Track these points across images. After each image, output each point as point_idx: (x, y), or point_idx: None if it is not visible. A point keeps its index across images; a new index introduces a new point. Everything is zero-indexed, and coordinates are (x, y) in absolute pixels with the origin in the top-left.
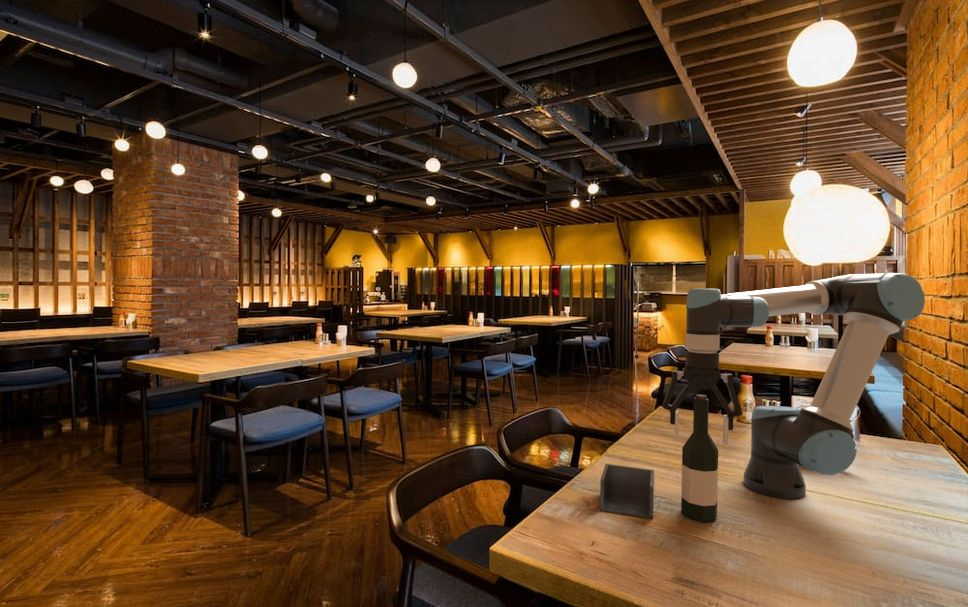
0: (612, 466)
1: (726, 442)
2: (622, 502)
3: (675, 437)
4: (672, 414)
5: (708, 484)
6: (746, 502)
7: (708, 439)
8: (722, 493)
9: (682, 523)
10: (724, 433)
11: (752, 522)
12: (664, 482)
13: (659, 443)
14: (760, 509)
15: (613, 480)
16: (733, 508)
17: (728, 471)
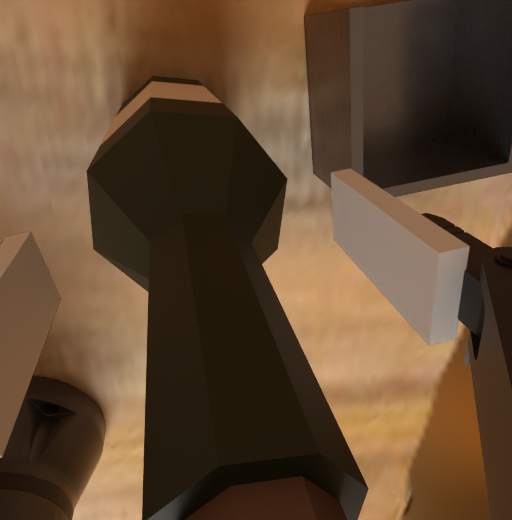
0: (492, 164)
1: (13, 241)
2: (402, 81)
3: (350, 172)
4: (473, 254)
5: (133, 107)
6: (67, 303)
7: (136, 214)
8: (140, 324)
9: (212, 36)
10: (10, 277)
11: (15, 172)
12: (295, 306)
13: None
14: None
15: (454, 152)
16: (91, 242)
17: None
